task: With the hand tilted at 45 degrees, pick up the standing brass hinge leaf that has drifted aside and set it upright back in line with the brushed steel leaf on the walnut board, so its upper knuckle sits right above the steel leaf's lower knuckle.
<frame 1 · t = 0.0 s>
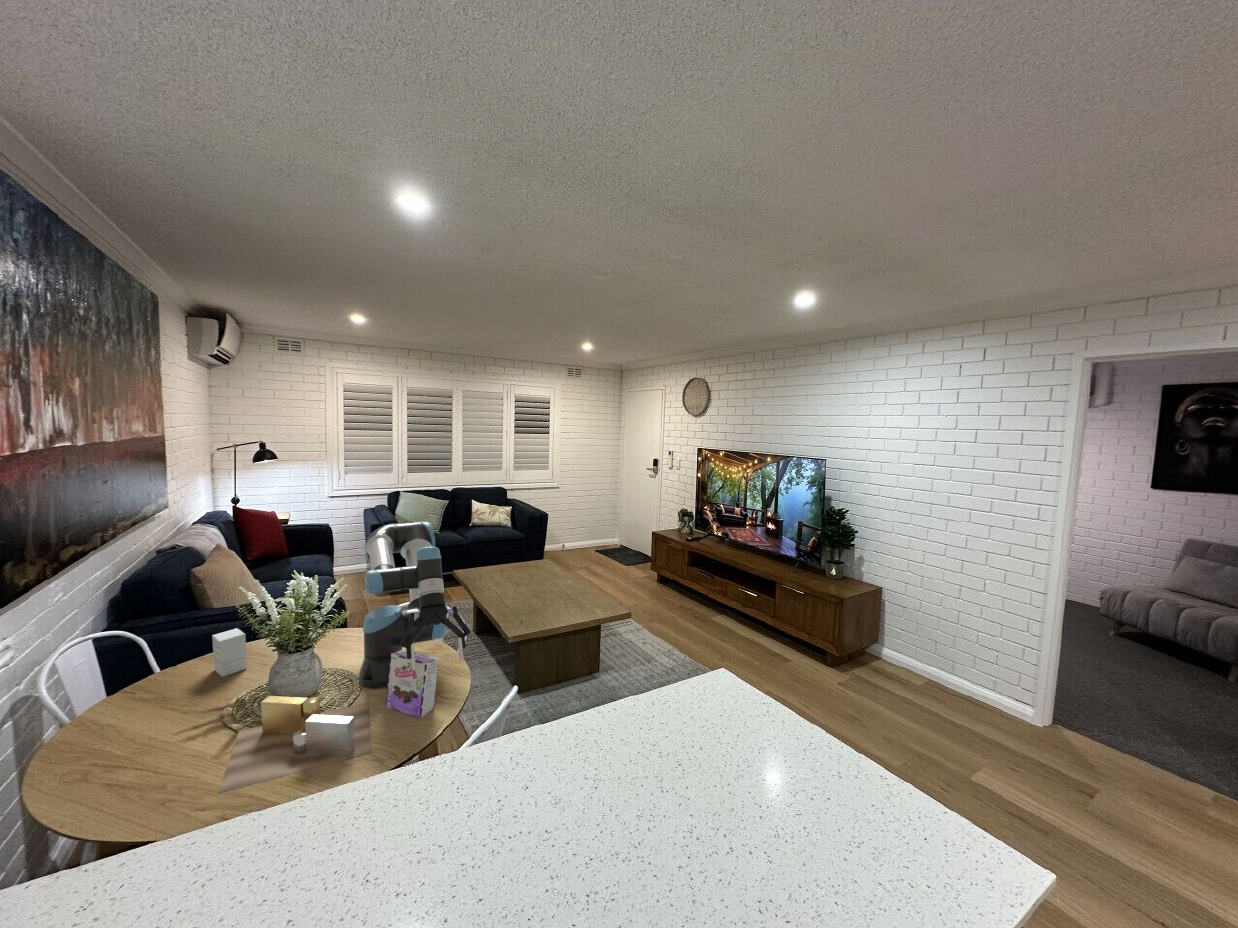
hand: (438, 665, 149), 15 cm above the table, tool tilted 35°, fingers open, 13 cm apart
fixed hinge leaf: (330, 750, 131), resting on walnut board
walnut board: (303, 745, 134), on the table
candy box: (409, 710, 151), on the table, touching gripper
loose hinge leaf: (285, 730, 138), point 1 cm above the table, touching walnut board
grey tall block: (230, 669, 170), on the table
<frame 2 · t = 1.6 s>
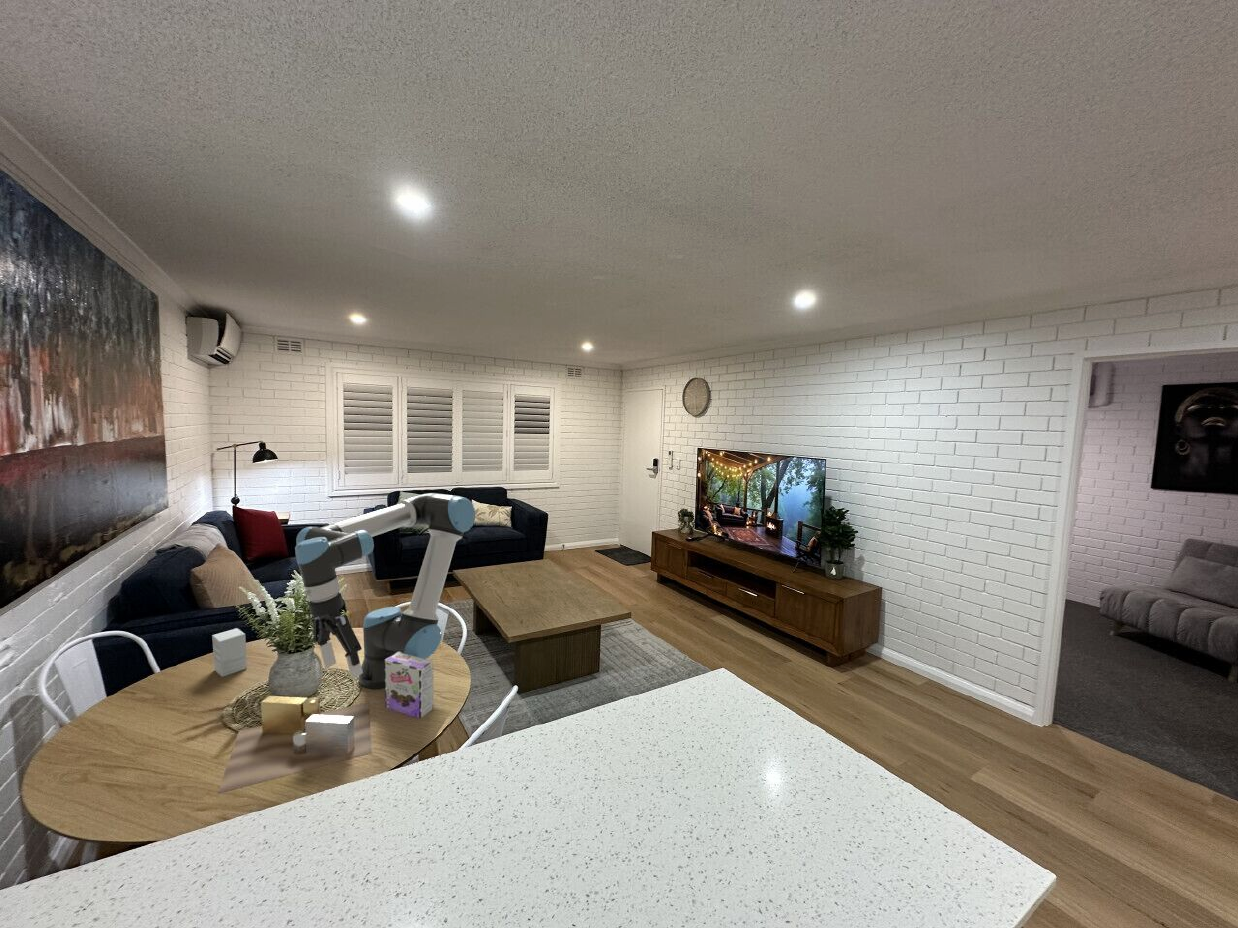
hand: (343, 670, 134), 20 cm above the table, tool pointing down, fingers open, 13 cm apart
candy box: (409, 711, 151), on the table
everything else where it was.
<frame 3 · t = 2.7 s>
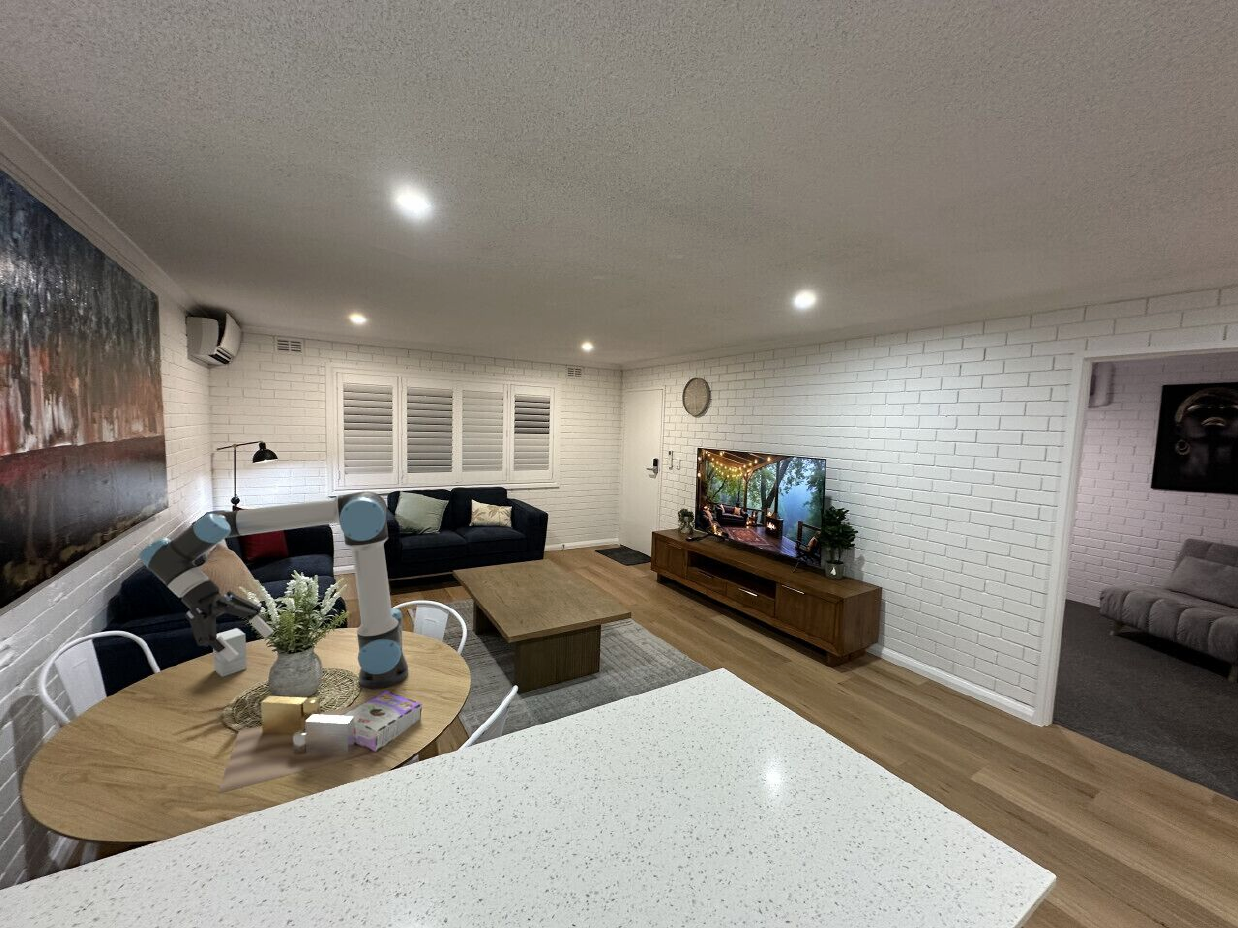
hand: (252, 645, 135), 26 cm above the table, tool tilted 45°, fingers open, 13 cm apart
candy box: (403, 705, 149), point 3 cm above the table, touching walnut board
everything else where it was.
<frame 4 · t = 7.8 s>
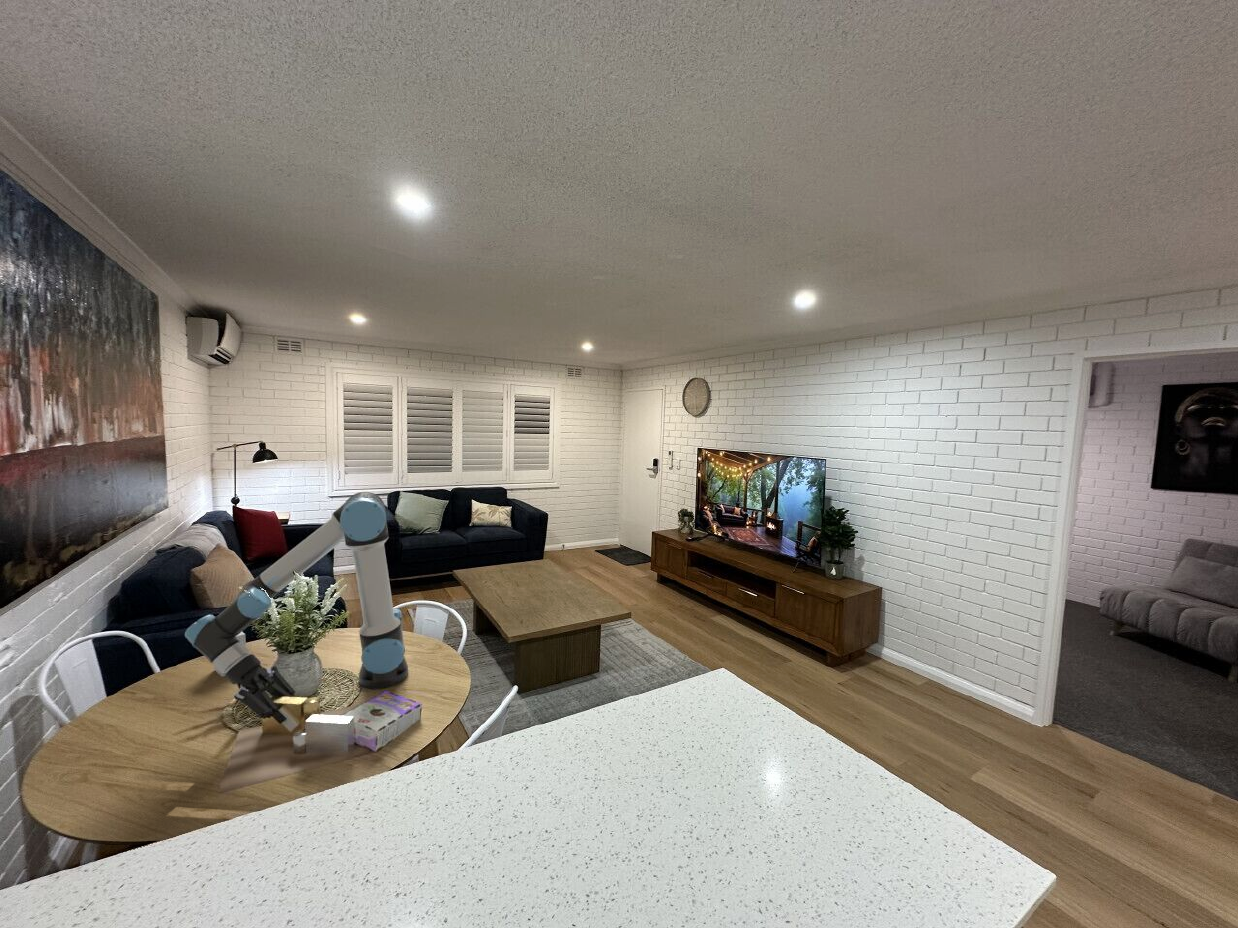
hand: (299, 723, 138), 3 cm above the table, tool tilted 45°, fingers closed on loose hinge leaf, 3 cm apart
loose hinge leaf: (285, 730, 138), point 1 cm above the table, touching gripper, walnut board
everything else where it was.
when the fingers open (5 cm above the table, at t = 12.7 s): loose hinge leaf drops 1 cm, resting on walnut board.
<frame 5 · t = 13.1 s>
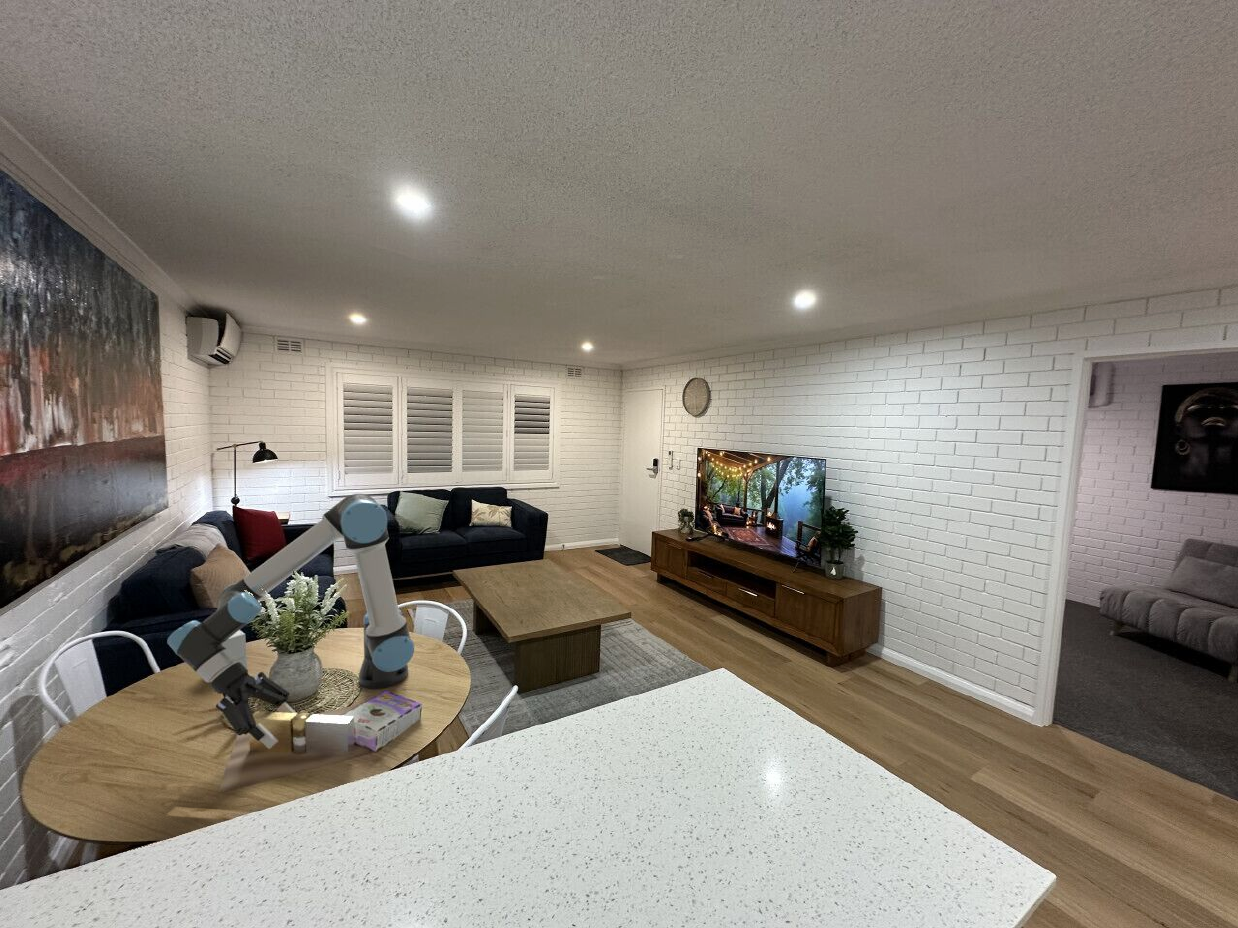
hand: (286, 733, 131), 6 cm above the table, tool tilted 45°, fingers open, 8 cm apart
loose hinge leaf: (274, 747, 131), point 1 cm above the table, touching walnut board
everything else where it was.
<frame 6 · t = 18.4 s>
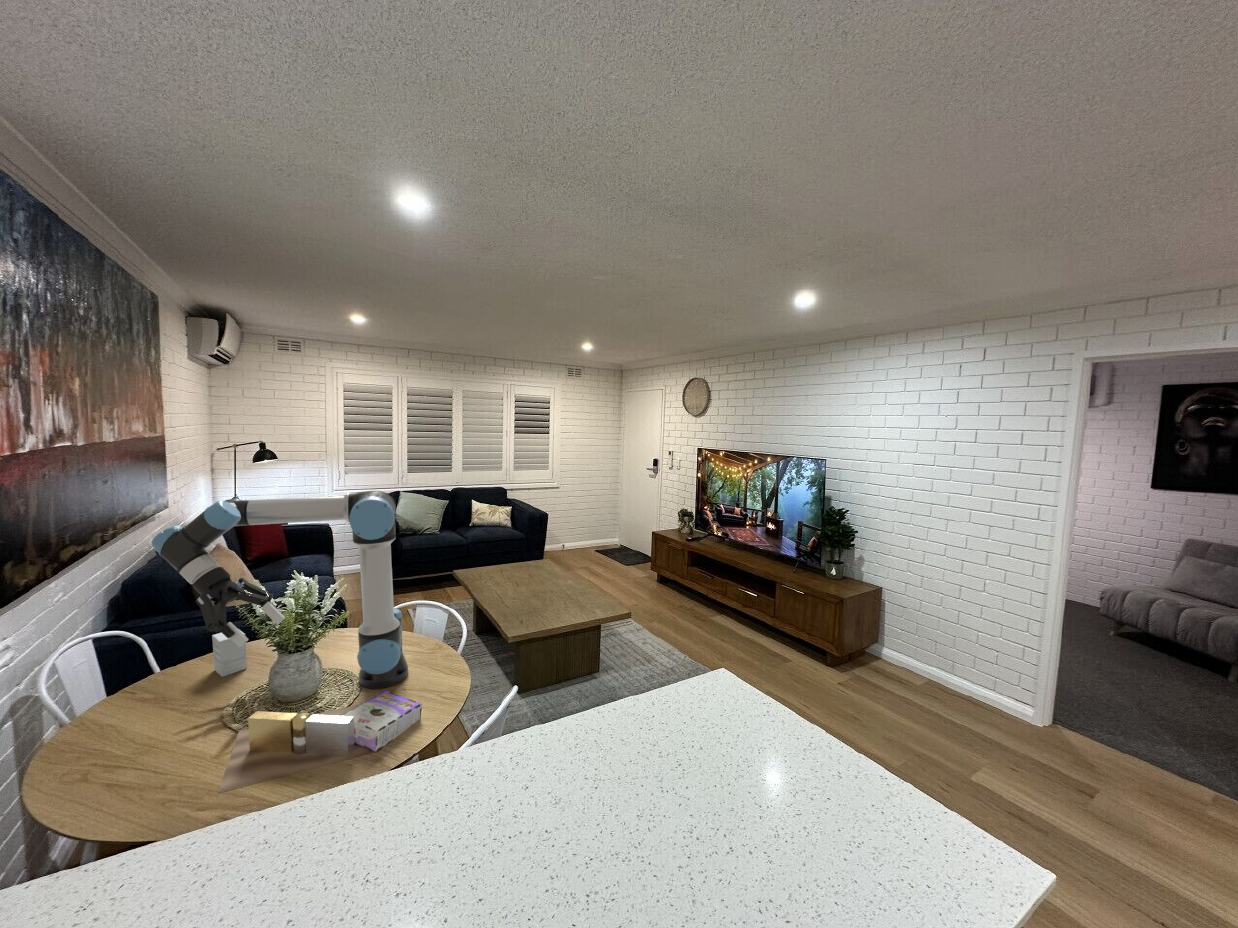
hand: (263, 631, 135), 30 cm above the table, tool tilted 45°, fingers open, 13 cm apart
nothing on the table moved.
at the end: loose hinge leaf 0.1 cm from the target spot on the table beside the fixed hinge leaf, resting on walnut board; loose hinge leaf tilted 0°; the gripper is holding nothing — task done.
